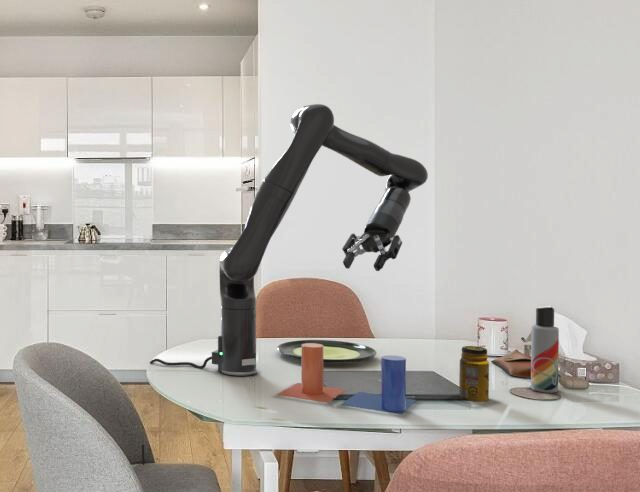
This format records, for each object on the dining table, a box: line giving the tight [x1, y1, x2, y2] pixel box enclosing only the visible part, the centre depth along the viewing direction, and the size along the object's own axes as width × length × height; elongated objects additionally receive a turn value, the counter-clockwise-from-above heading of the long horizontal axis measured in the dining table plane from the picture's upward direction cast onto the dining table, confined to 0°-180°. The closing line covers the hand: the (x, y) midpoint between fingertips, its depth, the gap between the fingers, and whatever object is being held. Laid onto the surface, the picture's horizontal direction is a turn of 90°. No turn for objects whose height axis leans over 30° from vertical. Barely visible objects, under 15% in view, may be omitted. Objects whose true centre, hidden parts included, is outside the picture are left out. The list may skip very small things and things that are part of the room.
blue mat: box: [340, 391, 417, 415], centre depth 158 cm, size 13×13×1 cm
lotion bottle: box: [530, 306, 560, 394], centre depth 171 cm, size 6×6×20 cm
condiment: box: [458, 345, 490, 403], centre depth 161 cm, size 7×8×12 cm
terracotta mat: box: [276, 382, 346, 404], centre depth 167 cm, size 12×13×1 cm
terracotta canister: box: [300, 343, 324, 395], centre depth 167 cm, size 5×5×11 cm
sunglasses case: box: [490, 349, 531, 379], centre depth 191 cm, size 18×7×7 cm
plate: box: [276, 339, 378, 363], centre depth 208 cm, size 28×28×2 cm
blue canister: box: [380, 354, 407, 413], centre depth 153 cm, size 5×5×11 cm
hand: (360, 267), depth 179 cm, fingers open, 8 cm apart
